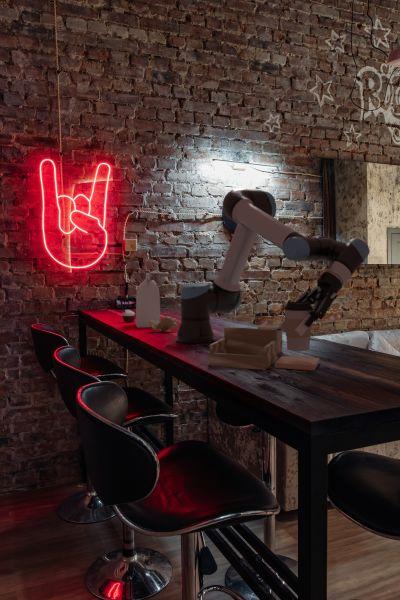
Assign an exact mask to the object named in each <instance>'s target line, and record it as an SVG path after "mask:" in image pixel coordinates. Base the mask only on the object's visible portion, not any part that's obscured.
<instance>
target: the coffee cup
mask: <svg viewBox="0 0 400 600" xmlns="http://www.w3.org/2000/svg"><path fill="white" fill-rule="evenodd" d="M312 309H313V306H312V304H311V305H310V303H308V302H296V301H290V300H288V301H287V304H286V305H284V309H283V310H284V319H285V329H286V331H285V336H286V348H287V350H288V351H291V352H292V351H293V352H307V351H310V344H311V343H310V342H311V336H312V328H313V327H312V326H313V323H312V324H311V326H310V327H309V328H308V329H307V330H306V332H305V333H304V334H303V335H302V336H299V334H298V333H297V332H296V331H295V329H296V328H297V327H298V326H299V324H300V323H301V322H302V321H303V320H304V318H305V317H306V316H307V315H308V314H309V312H312ZM309 315H310V314H309ZM310 316H311V315H310Z"/></svg>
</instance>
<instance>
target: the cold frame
mask: <svg viewBox="0 0 400 600" xmlns="http://www.w3.org/2000/svg"><path fill="white" fill-rule="evenodd" d="M223 329H224V330H223V337H222V338H220V339H218V340H217V341H215V342H214V341H213V343H211V344H209V352H208V366H209V365H214V366H213V367H218V366H222V368H235V369H249V370H250V369H251V370H264V371H266V370H267V369H268V368H270V366H271V365H272V364H273V363H275V362H276V361H277V360H278V353H277V329H259V328H258V327H257V328H255V327H254V328H253V327H237V326H236V327H231V326H224V327H223Z"/></svg>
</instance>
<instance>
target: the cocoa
mask: <svg viewBox="0 0 400 600" xmlns="http://www.w3.org/2000/svg"><path fill="white" fill-rule="evenodd" d="M123 303H124V302H123V301H122V299H119V304H120V305H121V309H122V319H123V321H124V323H133V322H134V321H136V312H135V311H132V310H130V309H125V307H124V304H123Z"/></svg>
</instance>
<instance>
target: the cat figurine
mask: <svg viewBox="0 0 400 600" xmlns="http://www.w3.org/2000/svg"><path fill="white" fill-rule="evenodd" d="M150 324H151V326H152V327H151V328H152V329H153V331H154V332H155V333H156V334H157V333H158V331H159V330H160V331H161V332H166V331H169V330H171V329H172V328H177V327H178V326H179V324H178V323H177V318H172V317H171V316H165V317H163V318H162V319H161V322H157V321H154V320H152V319H150Z"/></svg>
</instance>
